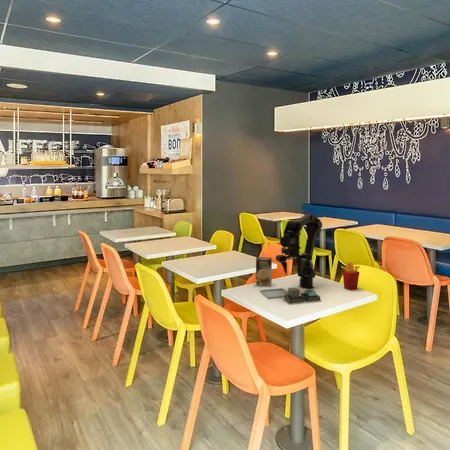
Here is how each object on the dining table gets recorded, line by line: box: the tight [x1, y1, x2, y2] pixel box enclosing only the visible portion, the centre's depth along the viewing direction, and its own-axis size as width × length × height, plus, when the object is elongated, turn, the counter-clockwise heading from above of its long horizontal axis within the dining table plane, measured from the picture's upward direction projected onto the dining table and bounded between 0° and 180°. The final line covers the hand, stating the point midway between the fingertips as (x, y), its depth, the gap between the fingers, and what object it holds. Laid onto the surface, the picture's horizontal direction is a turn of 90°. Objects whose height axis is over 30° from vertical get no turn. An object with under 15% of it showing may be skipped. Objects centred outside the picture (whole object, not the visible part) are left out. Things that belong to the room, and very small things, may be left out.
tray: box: [259, 287, 288, 300], centre depth 230 cm, size 13×13×2 cm
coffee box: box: [255, 257, 273, 287], centre depth 247 cm, size 9×6×16 cm
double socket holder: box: [282, 289, 323, 306], centre depth 219 cm, size 18×8×5 cm, turn 104°
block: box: [287, 287, 301, 299], centre depth 217 cm, size 4×5×6 cm
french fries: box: [340, 260, 361, 291], centre depth 239 cm, size 9×8×15 cm
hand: (293, 273), depth 230 cm, fingers open, 9 cm apart
